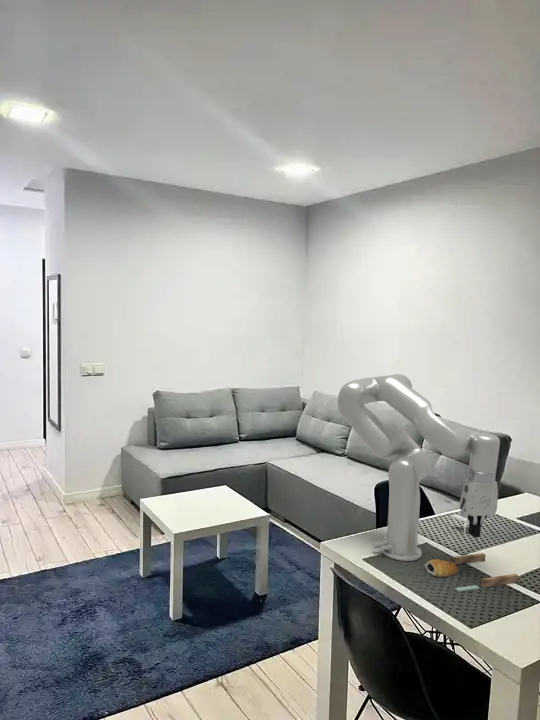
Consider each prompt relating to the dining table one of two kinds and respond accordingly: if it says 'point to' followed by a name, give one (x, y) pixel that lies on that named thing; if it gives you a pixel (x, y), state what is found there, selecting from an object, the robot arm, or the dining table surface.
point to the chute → (491, 580)
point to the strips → (465, 587)
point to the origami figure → (459, 519)
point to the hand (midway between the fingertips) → (473, 535)
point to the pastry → (441, 568)
